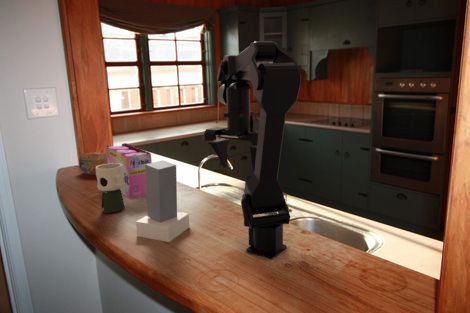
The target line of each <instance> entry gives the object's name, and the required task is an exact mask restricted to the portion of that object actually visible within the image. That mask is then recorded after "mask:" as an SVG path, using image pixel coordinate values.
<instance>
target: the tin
mask: <svg viewBox="0 0 470 313" xmlns="http://www.w3.org/2000/svg"><path fill="white" fill-rule="evenodd" d="M78 163H79V164H78V166H79V168H80V170H81V171H82V172H83V173H84V174H86V175H94V176H96V166H98V165H102V164H107V155H106V152H85V153H82V155H81V156H80V158H79V160H78Z"/></svg>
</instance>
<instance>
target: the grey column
mask: <svg viewBox="0 0 470 313" xmlns="http://www.w3.org/2000/svg"><path fill="white" fill-rule="evenodd" d="M145 169H146V194H147V196H146V216H148V217H150V218H152V219H154V220H156V221H157V222H159V223H161V222H164V221H167V220H169V219H172V218H174V217H177V212H178V200H177V199H178V194H177V190H178V188H177V185H178V182H177V164H175V163H172V162H168V161H167V160H163V159H162V160H158V161H155V162H152V163H150V164H146V165H145Z"/></svg>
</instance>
